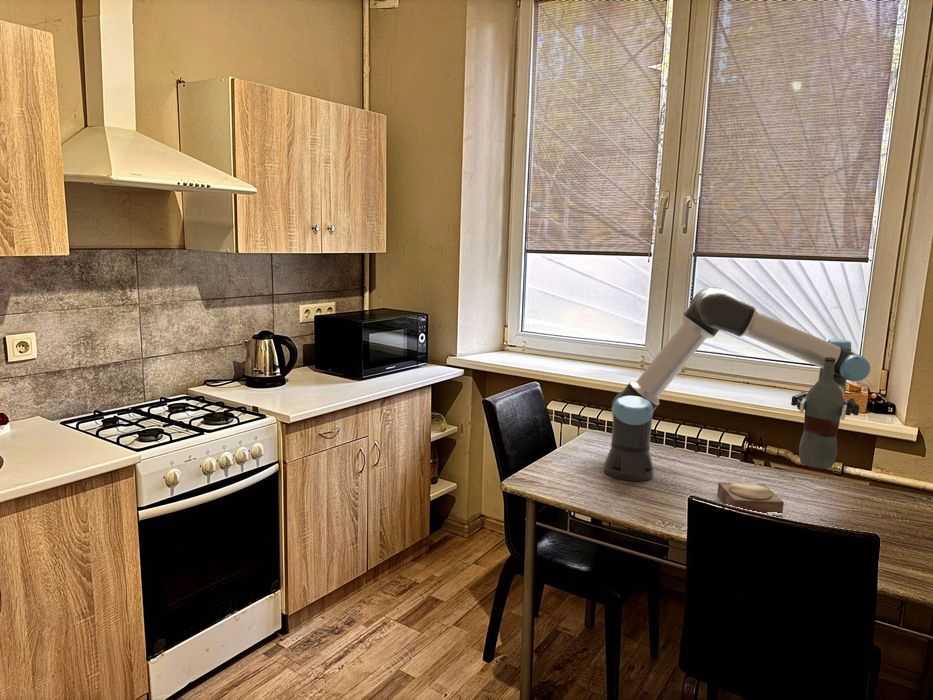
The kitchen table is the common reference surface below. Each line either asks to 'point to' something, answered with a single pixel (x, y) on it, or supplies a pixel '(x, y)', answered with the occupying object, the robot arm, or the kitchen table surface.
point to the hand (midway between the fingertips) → (822, 411)
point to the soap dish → (750, 497)
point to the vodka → (821, 420)
